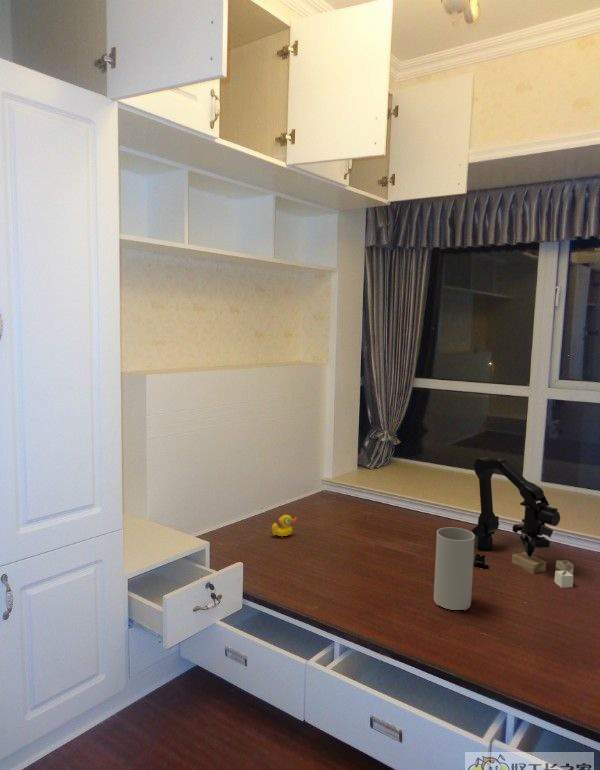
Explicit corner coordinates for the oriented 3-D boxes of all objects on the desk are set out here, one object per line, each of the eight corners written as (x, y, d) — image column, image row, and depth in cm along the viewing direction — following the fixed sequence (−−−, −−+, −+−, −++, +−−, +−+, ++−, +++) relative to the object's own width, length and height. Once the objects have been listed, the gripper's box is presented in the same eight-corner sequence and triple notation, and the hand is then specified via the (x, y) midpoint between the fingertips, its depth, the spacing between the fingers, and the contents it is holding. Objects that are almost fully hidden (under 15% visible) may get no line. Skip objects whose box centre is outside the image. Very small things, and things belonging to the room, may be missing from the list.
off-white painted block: (561, 587, 212) (562, 575, 212) (554, 582, 217) (555, 570, 216) (572, 587, 213) (573, 575, 212) (565, 581, 217) (566, 570, 217)
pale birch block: (562, 576, 222) (563, 565, 221) (555, 571, 226) (556, 560, 226) (572, 576, 223) (573, 564, 222) (566, 571, 227) (566, 559, 226)
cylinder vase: (464, 616, 190) (468, 543, 187) (428, 605, 196) (431, 535, 194) (474, 600, 200) (478, 532, 198) (440, 591, 207) (443, 524, 204)
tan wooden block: (533, 574, 223) (533, 565, 223) (511, 563, 233) (512, 554, 233) (545, 571, 226) (546, 562, 226) (524, 561, 236) (524, 551, 236)
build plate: (497, 567, 230) (498, 556, 230) (494, 574, 224) (494, 563, 223) (466, 560, 236) (467, 549, 236) (462, 566, 230) (462, 555, 229)
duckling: (295, 533, 260) (295, 512, 259) (297, 538, 255) (298, 516, 254) (270, 535, 258) (270, 513, 257) (272, 539, 253) (272, 517, 252)
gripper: (564, 526, 219) (561, 565, 221) (538, 510, 238) (535, 546, 240) (537, 527, 218) (534, 566, 220) (512, 511, 236) (510, 547, 238)
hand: (529, 556), depth 229 cm, fingers closed
